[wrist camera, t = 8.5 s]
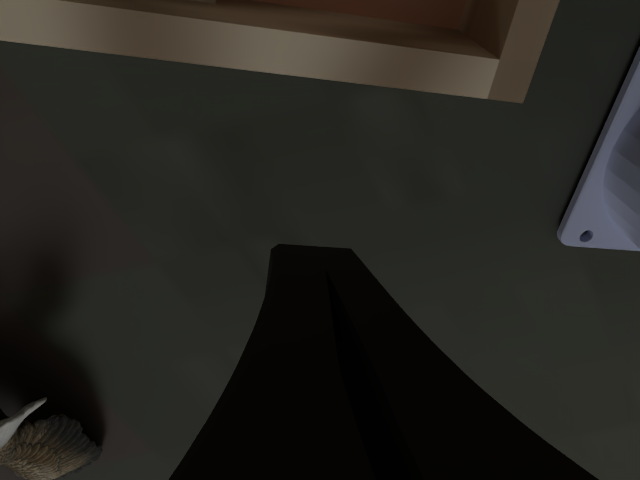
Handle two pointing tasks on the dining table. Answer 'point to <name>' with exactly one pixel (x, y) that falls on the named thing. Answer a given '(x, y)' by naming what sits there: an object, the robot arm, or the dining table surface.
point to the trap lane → (311, 37)
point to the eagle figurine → (44, 445)
